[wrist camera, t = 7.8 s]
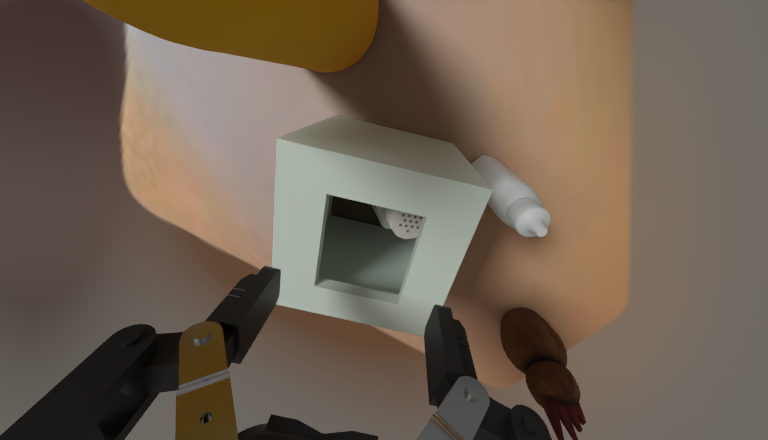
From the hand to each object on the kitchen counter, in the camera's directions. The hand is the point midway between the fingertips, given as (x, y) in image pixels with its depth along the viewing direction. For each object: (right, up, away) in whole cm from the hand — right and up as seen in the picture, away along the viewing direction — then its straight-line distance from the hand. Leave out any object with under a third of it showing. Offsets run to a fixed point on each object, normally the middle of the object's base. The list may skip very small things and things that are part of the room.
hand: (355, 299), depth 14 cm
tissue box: (+1, +8, +16) cm, 18 cm away
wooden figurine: (+20, -9, +23) cm, 32 cm away
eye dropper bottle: (+13, +9, +15) cm, 22 cm away
